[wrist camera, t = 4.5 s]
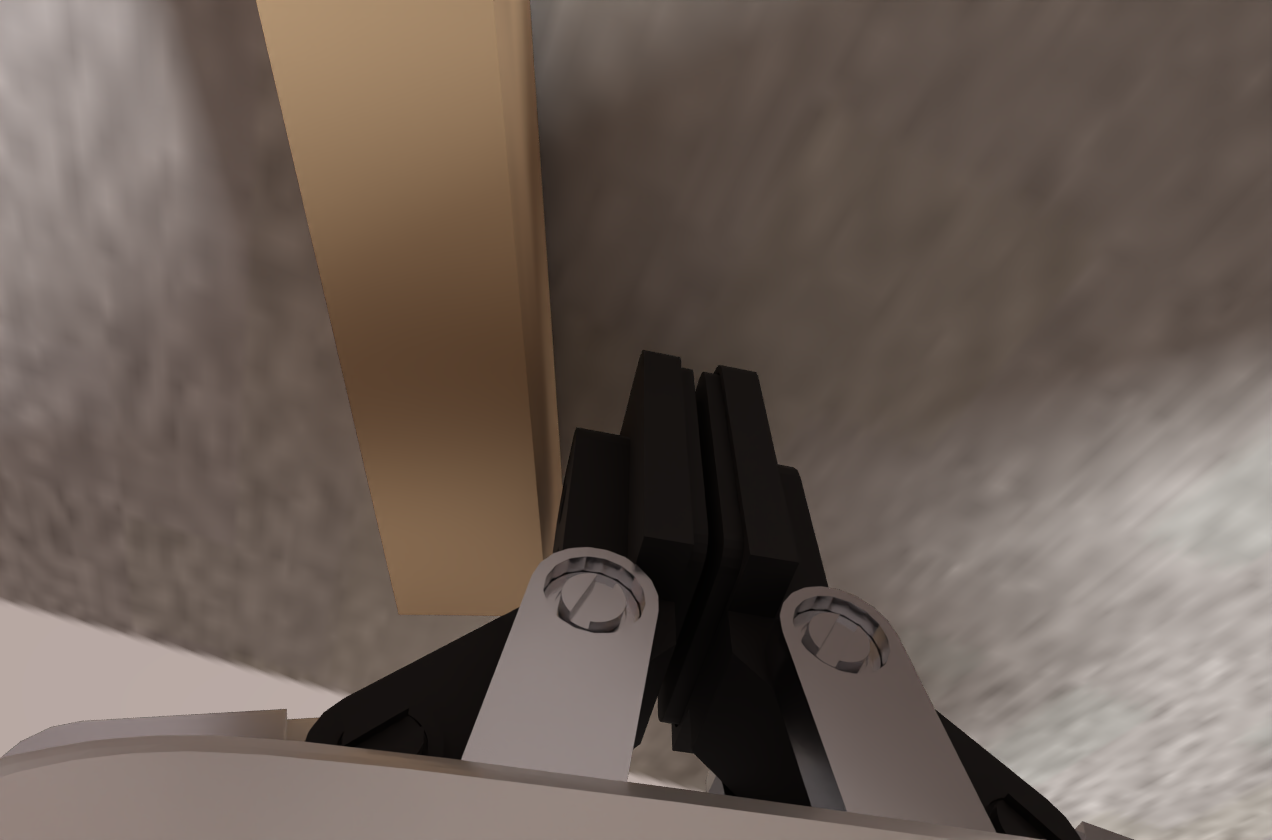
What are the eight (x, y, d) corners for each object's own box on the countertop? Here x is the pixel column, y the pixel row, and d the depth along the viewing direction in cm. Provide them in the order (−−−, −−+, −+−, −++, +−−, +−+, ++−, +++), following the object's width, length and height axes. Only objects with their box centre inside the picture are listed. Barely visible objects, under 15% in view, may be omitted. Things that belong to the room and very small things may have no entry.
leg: (180, -610, 7) (-9, -795, 5) (546, -615, 7) (501, -805, 5) (407, 504, 14) (364, 613, 12) (593, 507, 14) (582, 616, 12)
